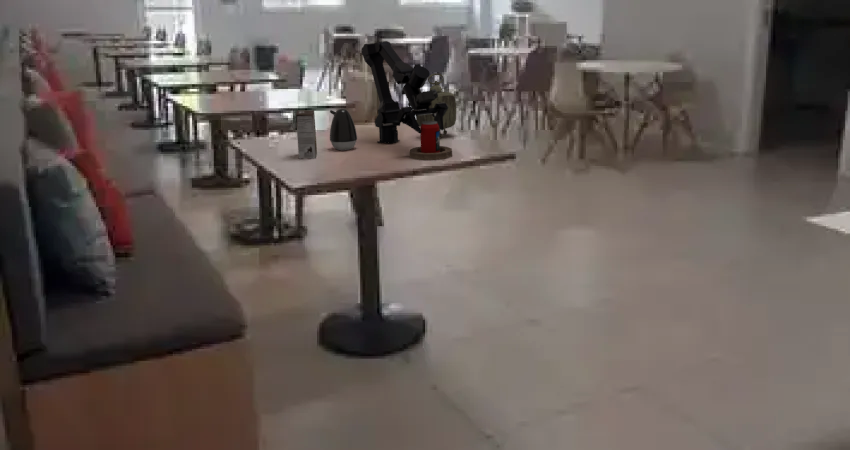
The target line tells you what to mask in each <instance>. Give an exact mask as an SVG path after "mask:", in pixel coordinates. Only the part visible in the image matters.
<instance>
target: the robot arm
mask: <svg viewBox="0 0 850 450" xmlns="http://www.w3.org/2000/svg"><path fill="white" fill-rule="evenodd" d="M360 51H361V55H362V57H363V60H364V62H365V64H367V65H368V66H369V68H370V70H371V73H372V77H373V81H374V85H375V89H376V93H377V96H378V101H379V105H378V108H377V116H376V118H375V119H374V125H375V128H378V130H379V131H378V135H379V140H377V141H376V142H377V143H378V144H389V145H391V144H395V143H397V142H400V139H399V131H398V127H400V126H401V123H402V124H403V125H406V126H408V127H410V128H411V129H412V130H414V131H415V132H417V133H418V134H420V133H421V129H420V126H419V125H418V123H417V120H416V115H427V114H432V116H433V117H434V121H437V123H438V125H439V128H440V129H441V130H440V131H444V127H443V116H444V114H445V113H446V111H447V109H448V106H447V104H446V103H436V104H435V106H434V108H429V106H430V105H431V101H433V100H435V99H436V98H437V97H438V93H437V91H436V89H432V90H431V91H430V90H428V91H427V90H426V91H422V89H421V88H423V87H424V86H425V84H426V83H427V82H428V78H429V76H430V70H429V69H427V68H426V67H424V66H422V65H421V63H416V64H414V66H413V67H412V66H411V65H410V64H408V63H406V62H404V61H403V60H402V59H401V57H400V56H399V55H398V54H397V52H396V51H395V50H394V48H393V47H392V45H391V42H390V41H388V40H380V41H377V42H372V43H365V44H363V46H362V47H361V50H360ZM384 61H385V62H386V64H387V65H388V66H389V68H390V70H392V74H391V75H392V78H393V79H394V81H395V83H396V84H397V85H403V86H402V90H401V95H402V96H403V95H404V96H406V98H407V101H408V103H407V105H408V106H401V107H400V103H399V101H395V100H394V99H393V97H392V92H391V89H390V85H389V82H388V79H387V78H388V77H387V73H386V70H385V67H384Z"/></svg>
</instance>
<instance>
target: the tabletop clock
mask: <svg viewBox="0 0 850 450" xmlns="http://www.w3.org/2000/svg"><path fill="white" fill-rule="evenodd" d="M434 76H440V77H441V81H439V82H438V81H437V80H434V82H432V81H430V79H431V77H434ZM443 81H444V76H443V75H442V74H441V73H437V72H436V73H432V74H429V77H428V79H427V82H428V83H429V84H430V85H432V86H431V87H430V88H429V91H431V90H432V89H436V91H437V93H438V97H437V98H436V99H435V100H433V101H431V105H430V106H429V108H434V106H435V104H436V103H446V104H447V106H448V109H447V111H446V113H445V114H444V116H443V127H444V129H443V130H441V129H440V128H439V135H440V137H441V138H443V135H447V134H448V131H447V130H446V129H449V128H452V127H453V126H454V125H456V121H457V100H456V97H455V94H454V93H452V92H447V91H443V87H442V86H441V85H440V84H442V83H443ZM415 118H416V120H417V123H418V125H419V127H421V125H422V122H424V121H434V117H433V116H432V114H427V115H415ZM441 132H442V133H443V134H442V133H441Z"/></svg>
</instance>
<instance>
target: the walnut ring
mask: <svg viewBox="0 0 850 450" xmlns="http://www.w3.org/2000/svg"><path fill="white" fill-rule="evenodd" d="M451 157H453V149H452V147H449V146H445V145H443V146H442V145H440V152H438V153H421V146H415V147H412V148H410V149H409V158H411V159H414V160H419V161H420V160H421V161H437V160H438V161H439V160H445V159H449V158H451Z"/></svg>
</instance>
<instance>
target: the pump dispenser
mask: <svg viewBox="0 0 850 450" xmlns="http://www.w3.org/2000/svg"><path fill="white" fill-rule="evenodd" d="M329 113H330V114H331V115H332V117H333V118H332V120H331V123H330V129H329V130H330V131H329V142H330V143H331V145H332V147H333V148H334V149H335V150H337V151H348V150H351V149H354V147H355V145H356V143H357V140H358V134H357V130H356V129H357V128H356V125H355V122H354V120H353V119H354V118H353V117H352V115H351V113H350V112H349V110H348V109H345V108H339V109H337V110H336V111H335V110H332V109H330V110H329Z"/></svg>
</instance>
